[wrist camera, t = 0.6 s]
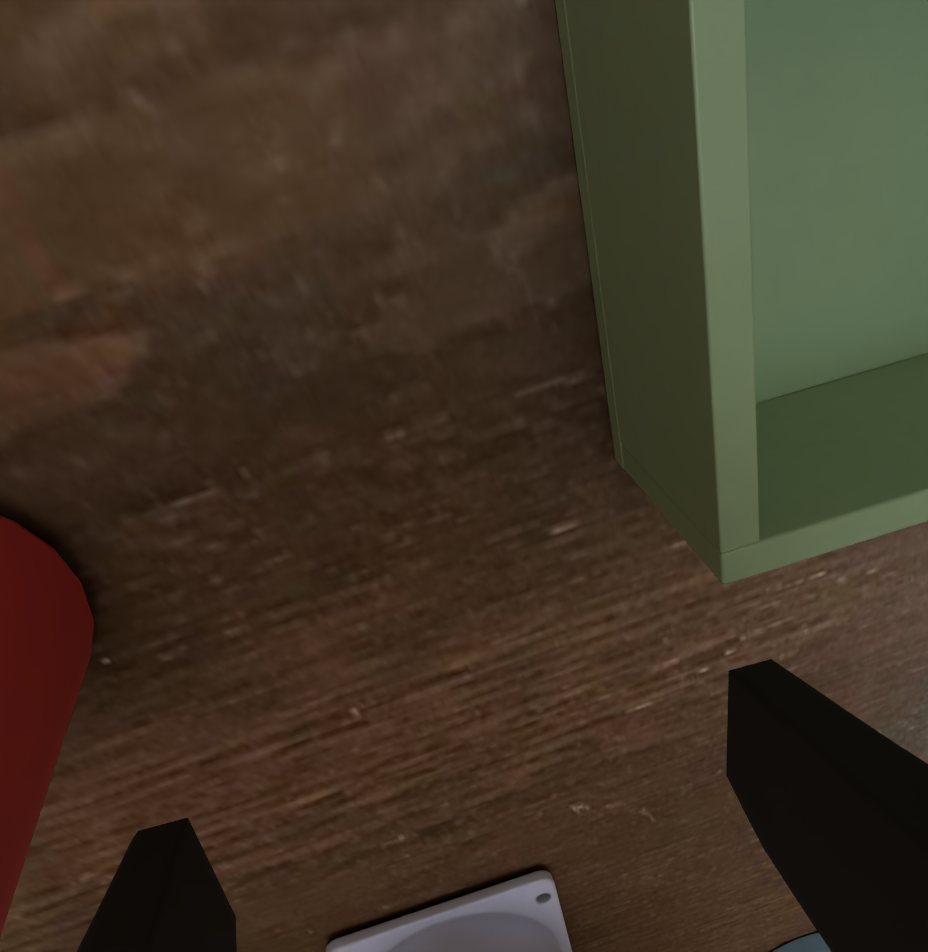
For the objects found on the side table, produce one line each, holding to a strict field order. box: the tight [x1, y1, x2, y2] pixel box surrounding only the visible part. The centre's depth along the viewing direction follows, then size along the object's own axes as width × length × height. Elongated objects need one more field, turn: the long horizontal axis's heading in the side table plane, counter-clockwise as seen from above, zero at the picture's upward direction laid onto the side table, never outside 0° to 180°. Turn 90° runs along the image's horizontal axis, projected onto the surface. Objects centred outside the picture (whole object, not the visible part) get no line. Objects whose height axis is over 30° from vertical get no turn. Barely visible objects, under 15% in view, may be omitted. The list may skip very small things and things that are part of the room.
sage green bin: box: [555, 0, 928, 584], centre depth 15 cm, size 12×12×6 cm
